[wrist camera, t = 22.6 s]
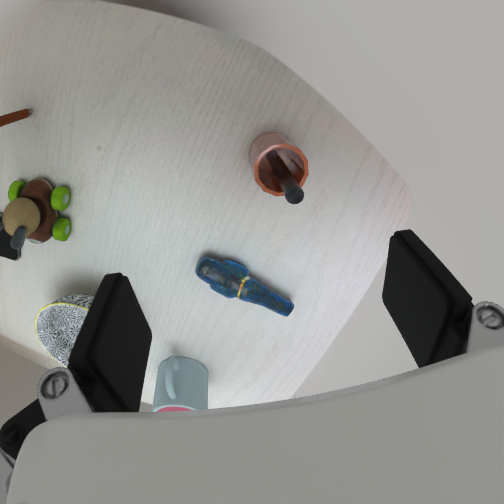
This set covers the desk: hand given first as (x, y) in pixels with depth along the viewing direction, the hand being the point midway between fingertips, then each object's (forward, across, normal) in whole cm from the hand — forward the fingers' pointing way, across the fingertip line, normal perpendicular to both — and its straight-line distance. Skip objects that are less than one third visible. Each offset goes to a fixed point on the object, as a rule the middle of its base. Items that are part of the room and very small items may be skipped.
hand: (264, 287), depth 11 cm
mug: (+27, +16, +36) cm, 48 cm away
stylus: (+27, -4, +3) cm, 27 cm away
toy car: (+27, +27, +3) cm, 39 cm away
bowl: (+27, +27, +22) cm, 44 cm away
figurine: (+27, +2, +20) cm, 33 cm away
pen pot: (+27, -4, +3) cm, 27 cm away
